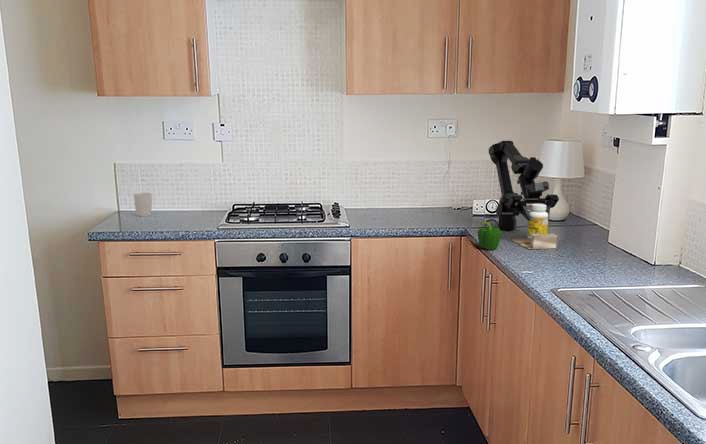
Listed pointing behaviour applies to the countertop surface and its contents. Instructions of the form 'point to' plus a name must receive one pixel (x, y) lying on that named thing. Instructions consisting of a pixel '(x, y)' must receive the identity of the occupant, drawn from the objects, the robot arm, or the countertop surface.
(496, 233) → the bell pepper
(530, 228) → the supplement bottle
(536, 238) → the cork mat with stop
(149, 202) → the white cup
